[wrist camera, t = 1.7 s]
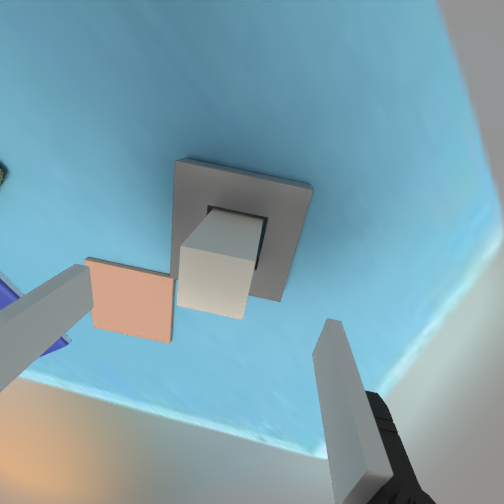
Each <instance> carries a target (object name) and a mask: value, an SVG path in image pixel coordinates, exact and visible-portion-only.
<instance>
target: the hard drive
mask: <svg viewBox="0 0 504 504" xmlns="http://www.w3.org/2000/svg"><path fill="white" fill-rule="evenodd" d="M22 296H24V294H23V293H22V292H21V291H20V290H19V289H18V288H17V287H16V286H15V285H14V284H13V283H12V282H11V281H10V280H9V279H7V278H6V277H5V276H4V275H3V274H2V273H1V272H0V310H1V309H3V308H5V307H6V306H8V305H9V304H11V303H13V302H14V301H16V300H18V299H19V298H21V297H22ZM71 341H72V340H71V339H70V338H69V337H68V336H67V335H66V334H64V335H63V336H61V337H60V338H59V339H58V340H57V341H56V342H55V343H54V344H53V345H52V346H50V347H49V348H48V349H47V350H46V351H45V352H44V353H43V354H42V355H41V356H43V355H46V354H48V353H51V352H53V351H55V350H58V349H60V348H63V347H65V346H67V345H68V344H69V343H70V342H71ZM41 356H39V357H41ZM39 357H38V358H39Z"/></svg>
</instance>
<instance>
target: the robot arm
mask: <svg viewBox="0 0 504 504" xmlns="http://www.w3.org/2000/svg"><path fill="white" fill-rule="evenodd" d="M93 307H94V302H93V293H92V285H91V276H90V267H89V266H84V265H79V264H74V265H73V266H71V267H70V268H68V269H66V270H65V271H63V272H61V273H60V274H58V275H57V276H55V277H53V278H52V279H50V280H48V281H47V282H45V283H44V284H42V285H40V286H39V287H37V288H35V289H34V290H32V291H31V292H29V293H27V294H26V295H24V296H22V297H21V298H19V299H18V300H16V301H14V302H13V303H11V304H9V305H8V306H6V307H5V308H3V309H1V310H0V392H1V391H2V390H3V389H4V388H5V387H6V386H7V385H9V384H10V383H11V382H12V381H13V380H14V379H15V378H16V377H17V376H19V375H20V374H21V373H22V372H23V371H24V370H25V369H26V368H27V367H28V366H30V365H31V364H32V363H33V362H34V361H35V360H36V359H37V358H38V357H39V356H41V355H42V354H43V353H44V352H45V351H46V350H47V349H48V348H49V347H50V346H52V345H53V344H54V343H55V342H56V341H57V340H58V339H59V338H60V337H61V336H63V335H64V334H65V333H66V332H67V331H68V330H69V329H70V328H71V327H72V326H74V325H75V324H76V323H77V322H78V321H79V320H80V319H81V318H82V317H83V316H85V315H86V314H87V313H88V312H89V311H90V310H91V309H92V308H93ZM312 356H313V363H314V369H315V376H316V382H317V389H318V395H319V402H320V408H321V415H322V421H323V428H324V434H325V441H326V447H327V454H328V460H329V466H330V473H331V480H332V486H333V492H334V498H335V504H436V503H435V502H434V501H433V500H432V499H431V497H430V496H429V495H428V494H427V493H425V492H424V491H422V489H421V487H420V485H419V483H418V481H417V479H416V476H415V474H414V471H413V468H412V466H411V464H410V461H409V459H408V456H407V454H406V451H405V449H404V446H403V444H402V441H401V439H400V437H399V435H398V431H397V429H396V427H395V424H394V423H393V419H392V417H391V414H390V412H389V409H388V407H387V405H386V404H385V403H384V401H383V400H382V398H381V397H380V396H379V394H378V393H374V392H370V391H365V390H364V387H363V384H362V381H361V378H360V375H359V372H358V369H357V366H356V363H355V360H354V357H353V354H352V352H351V349H350V346H349V343H348V340H347V337H346V334H345V331H344V328H343V325H342V322H341V321H337V320H333V319H328V318H327V320H326V322H325V325H324V327H323V330H322V332H321V334H320V337H319V339H318V342H317V344H316V347H315V349H314V351H313V354H312Z"/></svg>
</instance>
